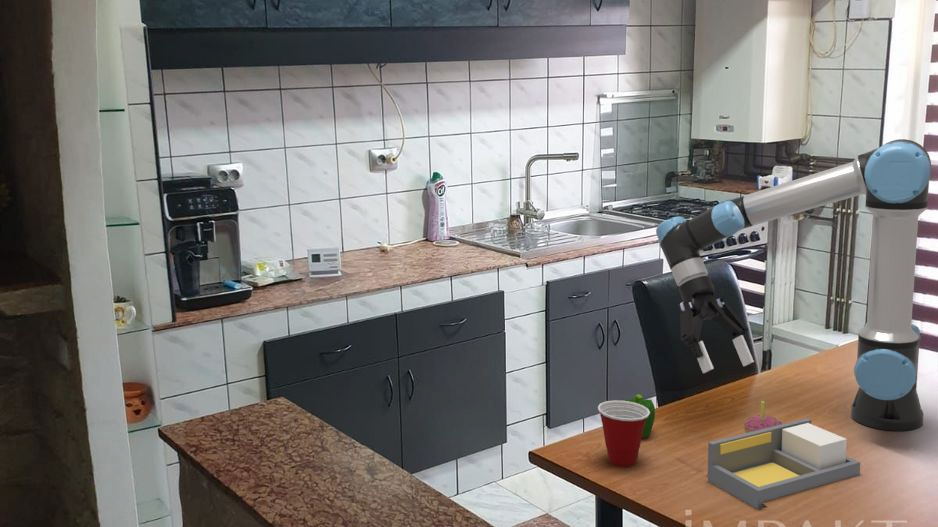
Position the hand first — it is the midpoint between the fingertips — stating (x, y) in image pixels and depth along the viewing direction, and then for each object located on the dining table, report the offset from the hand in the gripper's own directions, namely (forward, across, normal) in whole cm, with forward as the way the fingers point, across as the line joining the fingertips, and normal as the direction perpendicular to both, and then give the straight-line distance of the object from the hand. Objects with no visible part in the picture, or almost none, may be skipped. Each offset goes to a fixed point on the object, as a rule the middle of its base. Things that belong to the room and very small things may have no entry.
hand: (729, 367), depth 197 cm
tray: (+26, +9, +9) cm, 29 cm away
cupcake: (+19, -1, -1) cm, 19 cm away
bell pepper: (+7, +14, -20) cm, 26 cm away
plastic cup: (+13, +27, -14) cm, 33 cm away
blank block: (+26, +2, +11) cm, 28 cm away
